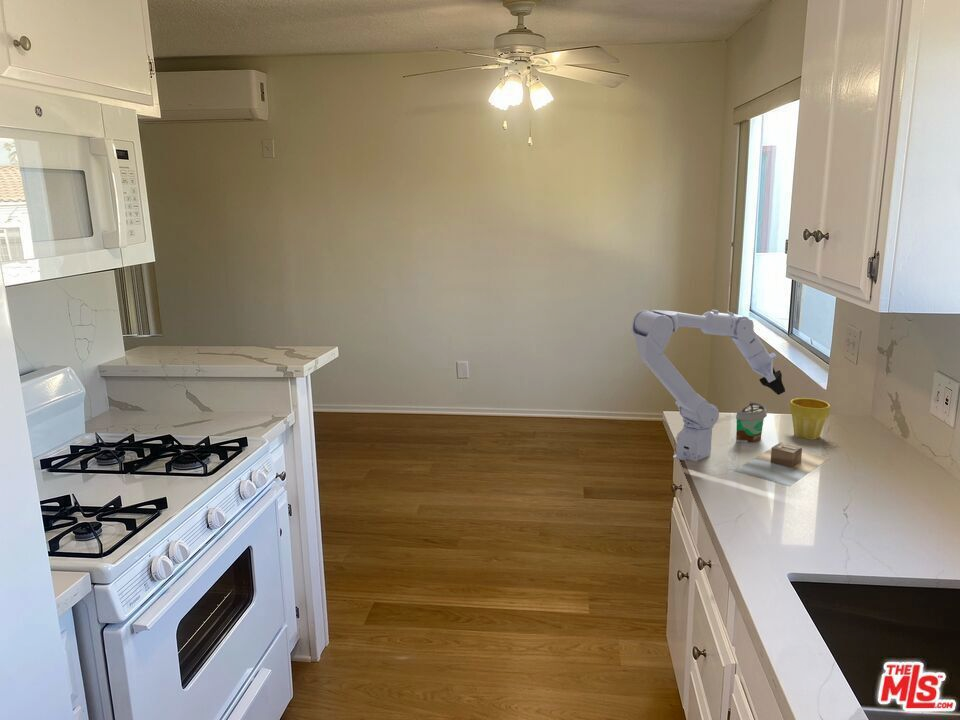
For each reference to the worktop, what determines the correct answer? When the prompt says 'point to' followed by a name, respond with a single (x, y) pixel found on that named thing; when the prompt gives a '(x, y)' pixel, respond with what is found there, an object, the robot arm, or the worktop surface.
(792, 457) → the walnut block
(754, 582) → the worktop surface
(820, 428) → the plant pot
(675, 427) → the worktop surface
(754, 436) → the food container
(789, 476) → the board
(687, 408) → the robot arm
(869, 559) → the worktop surface
